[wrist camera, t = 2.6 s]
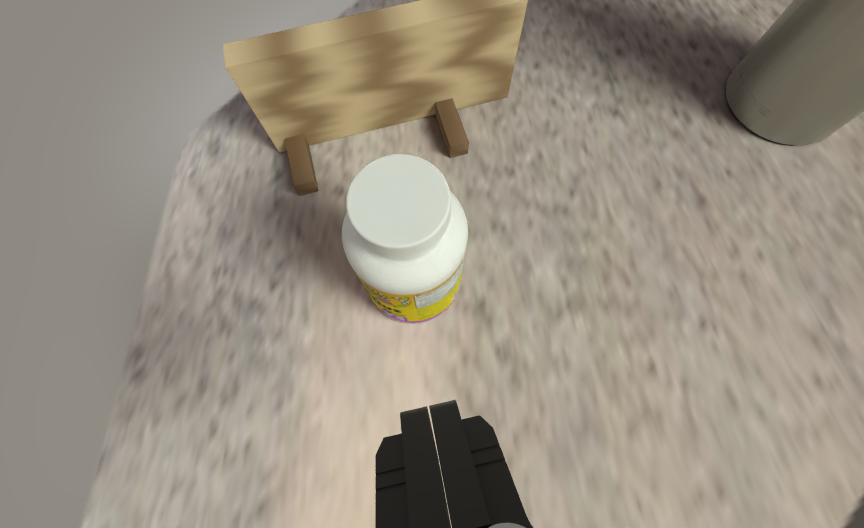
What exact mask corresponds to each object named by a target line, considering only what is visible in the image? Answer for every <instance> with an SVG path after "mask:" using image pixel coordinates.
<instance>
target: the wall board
mask: <svg viewBox="0 0 864 528" xmlns="http://www.w3.org/2000/svg"><path fill="white" fill-rule="evenodd" d="M527 3H528V0H420V1H415V2H411V3H406V4H402V5H397V6H393V7H388V8H384V9H379V10H375V11H370V12H366V13H361V14H357V15H352V16H348V17H343V18H339V19H334V20H330V21H326V22H321V23H317V24H312V25H307V26H303V27H298V28H294V29H289V30H285V31H280V32H276V33H271V34H267V35H262V36H258V37H254V38H249V39H244V40H240V41H235V42H231V43H226V44H223V51H224V58H225V65H226V69H227V70H228V72H229V73H230V75H231V77H232V78H233V80H234V81H235V83H236V85H237V86H238V88H239V89H240V91H241V93H242V94H243V96H244V97H245V99H246V100H247V102H248V104H249V105H250V107H251V108H252V110H253V112H254V113H255V115H256V116H257V118H258V119H259V121H260V123H261V124H262V126H263V127H264V129H265V131H266V132H267V134H268V135H269V137H270V139H271V140H272V142H273V143H274V145H275V146H276V148H277V150H278V151H279V153H280V152H284V151H287V153H288V159H289V164H290V169H291V175H292V180H293V185H294V187H295V189H296V190H297V192H298V193H299V195H304V194H308V193H312V192H316V191H318V187H317V182H316V177H315V172H314V167H313V163H312V158H311V153H310V148H309V145H312V144H317V143H321V142H325V141H329V140H333V139H337V138H341V137H345V136H349V135H354V134H358V133H362V132H366V131H370V130H374V129H378V128H382V127H386V126H391V125H395V124H399V123H403V122H407V121H411V120H415V119H419V118H424V117H428V116H432V115H436V118H437V121H438V124H439V127H440V130H441V133H442V136H443V139H444V141H445V144H446V147H447V150H448V153H449V156H450V158H451V157H455V156H459V155H463V154H467V153H468V145H469V141H468V139H467V136H466V133H465V131H464V128H463V125H462V122H461V120H460V117H459V114H458V112H457V109H461V108H465V107H469V106H473V105H477V104H481V103H485V102H489V101H493V100H498V99H502V98H506V97H507V96H508V92H509V87H510V82H511V78H512V73H513V68H514V64H515V59H516V54H517V50H518V45H519V40H520V35H521V31H522V26H523V21H524V17H525V12H526V7H527Z"/></svg>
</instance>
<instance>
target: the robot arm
mask: <svg viewBox="0 0 864 528" xmlns="http://www.w3.org/2000/svg"><path fill="white" fill-rule="evenodd" d="M726 97H727V101H728V104H729V106H730V108H731V110H732V112H733V113H734V115H735V116H736V117H737V118H738V120H739V121H740V122H741V123H743V124H744V125H745V126H746V127H747V128H748V129H750V130H751V131H753V132H754V133H756V134H758V135H759V136H761V137H764V138H766V139H768V140H771V141H774V142H778V143H782V144H788V145H808V144H812V143H815V142H819V141H821V140H823V139H824V138H826V137H828V136H829V135H831V134H832V133H834V132H835V131H837V130H838V129H839V128H841V127H842V126H844V125H845V124H847V123H848V122H849V121H851V120H852V119H854V118H855V117H856V116H858V115H859V114H861V113H862V112H864V0H794V1H793V2H792V3H791V4H790V5H789V6H788V8H787V9H786V10H785V11H784V12H783V13H782V15H781V16H780V17H779V18H778V19H777V20H776V21H775V23H774V24H773V25H772V26H771V27H770V28H769V30H768V31H767V32H766V33H765V34H764V35H763V36H762V38H761V39H760V40H759V41H758V42H757V43H756V44H755V46H754V47H753V48H752V49H751V50H750V51H749V53H748V54H747V55H746V56H745V57H744V58H743V60H742V61H741V62H740V63H739V64H738V65H737V66H736V68H735V69H734V70H733V71H732V73H731V74H730V76H729V77H728V80H727V83H726ZM429 407H430V413H431V418H432V423H433V429H434V434H435V439H436V445H437V450H438V455H439V460H438V455H437V451H436V446H435V441H434V437H433V432H432V427H431V422H430V418H429V413H428V409H427V407H422V408H418V409H414V410H409V411H405V412H401V413H400V418H401V430H402V434H398V435H393V436H389V437H385V438H383V441H382V443H381V445H380V447H379V449H378V451H377V454H376V528H451V525H452V528H533V527H532V525H531V524H530V522H529V520H528V518H527V516H526V513H525V511H524V508H523V506H522V503H521V500H520V498H519V495H518V492H517V490H516V487H515V485H514V482H513V479H512V477H511V474H510V471H509V469H508V466H507V464H506V462H505V458H504V456H503V453H502V450H501V448H500V446H499V443H498V440H497V437H496V435H495V432H494V429H493V427H492V426H490V425H489V424H488V423H487V422H486V421H485V420H484V419H483V418H482V417H481V416H480V415H479V416H475V417H471V418H466V419H462V420H461V416H460V413H459V409H458V406H457V402H456V400H453V401H448V402H444V403H439V404H435V405H431V406H429ZM439 461H440V465H439ZM440 466H441V471H442V476H441V471H440ZM442 477H443V481H442ZM443 482H444V487H445V492H444V487H443ZM445 493H446V498H447V503H446V498H445ZM447 504H448V508H447ZM448 509H449V514H450V519H449V514H448ZM450 520H451V525H450Z"/></svg>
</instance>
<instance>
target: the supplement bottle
mask: <svg viewBox="0 0 864 528" xmlns="http://www.w3.org/2000/svg"><path fill="white" fill-rule="evenodd" d="M346 209H347V212H346V214H345V217H344V221H343V225H342V243H343V248H344V251H345V255H346V257H347V259H348V261H349V263H350V265H351V267H352V268H353V270H354V271H355V273H356V274H357V276H358V278H359V279H360V281H361V283H362V284H363V286H364V287H365V289H366V291H367V292H368V294H369V295H370V297H371V299H372V300H373V302H374V303H375V304H376V306H377V307H378V308H379V309H380V310H381V311H382V312H383V313H384V314H385V315H387V316H388V317H390V318H391V319H393V320H396V321H398V322H402V323H406V324H421V323H426V322H429V321H432V320H434V319H436V318H438V317H439V316H441V315H442V314H443V313H444V312H446V311H447V310H448V309H449V307H450V306H451V305H452V303H453V302H454V300H455V298H456V296H457V293H458V290H459V287H460V282H461V276H462V270H463V263H464V257H465V252H466V246H467V239H468V226H467V220H466V216H465V213H464V211H463V208H462V206H461V204H460V203H459V201H458V200H457V198H456V197H455V196H454V195H453V193H452V192H451V191H450V190H449V187H448V184H447V181H446V180H445V178H444V176H443V175H442V173H441V172H440V171H439V170H438V169H437V168H436V167H435V166H434V165H432V164H431V163H430V162H428V161H426V160H424V159H422V158H419V157H416V156H412V155H406V154H394V155H388V156H384V157H381V158H378V159H376V160H374V161H372V162H370V163H369V164H367V165H366V166H365V167H364V168H362V169H361V170H360V171H359V173H358V174H357V175H356V176H355V177H354V179H353V180H352V182H351V184H350V186H349V189H348V192H347V197H346Z"/></svg>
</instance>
